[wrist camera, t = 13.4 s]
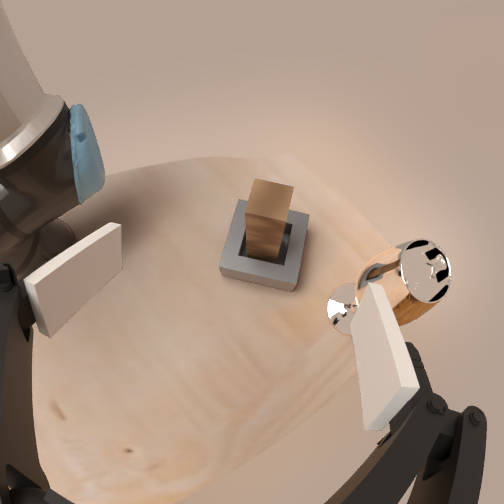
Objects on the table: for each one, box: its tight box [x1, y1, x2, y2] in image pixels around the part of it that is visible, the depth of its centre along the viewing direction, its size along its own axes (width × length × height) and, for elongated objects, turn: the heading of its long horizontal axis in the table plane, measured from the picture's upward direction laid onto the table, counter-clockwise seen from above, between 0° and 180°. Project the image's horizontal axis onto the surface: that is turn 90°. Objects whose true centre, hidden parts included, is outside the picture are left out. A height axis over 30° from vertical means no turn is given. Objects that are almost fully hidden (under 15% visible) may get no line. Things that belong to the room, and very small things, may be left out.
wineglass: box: [327, 239, 452, 335], centre depth 29 cm, size 8×8×20 cm
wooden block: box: [245, 179, 294, 264], centre depth 34 cm, size 4×4×14 cm
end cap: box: [219, 199, 309, 292], centre depth 39 cm, size 10×10×4 cm
